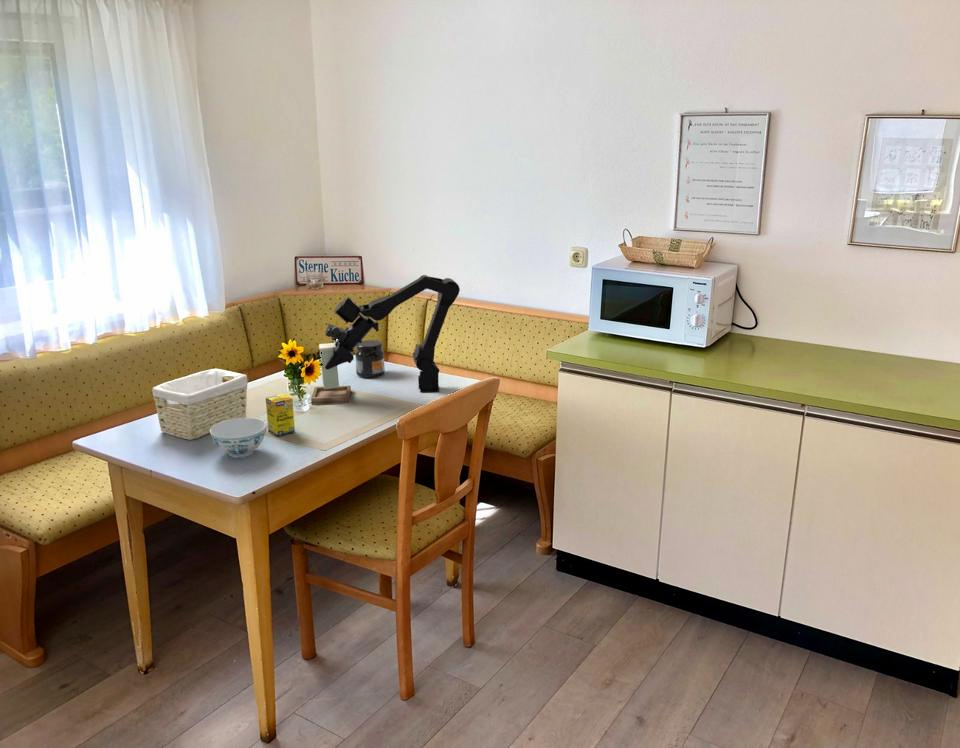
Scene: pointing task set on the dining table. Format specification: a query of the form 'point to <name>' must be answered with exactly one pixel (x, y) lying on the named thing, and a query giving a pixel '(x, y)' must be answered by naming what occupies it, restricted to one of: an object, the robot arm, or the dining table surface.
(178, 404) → the storage basket
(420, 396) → the dining table surface
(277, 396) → the supplement box
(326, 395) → the walnut tray
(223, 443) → the chinaware
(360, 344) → the supplement container
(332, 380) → the tea tin
